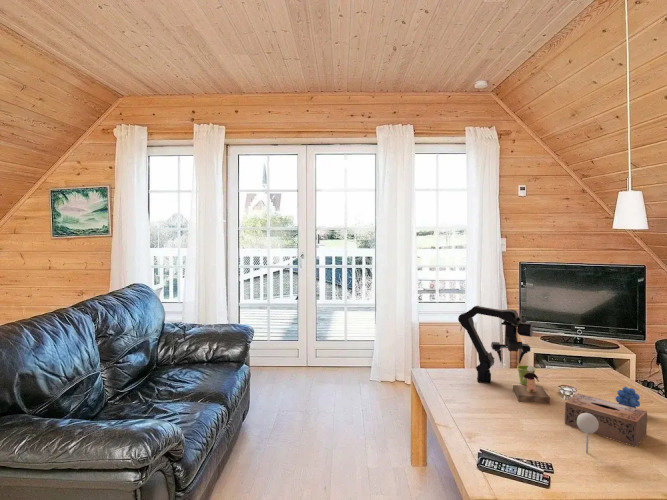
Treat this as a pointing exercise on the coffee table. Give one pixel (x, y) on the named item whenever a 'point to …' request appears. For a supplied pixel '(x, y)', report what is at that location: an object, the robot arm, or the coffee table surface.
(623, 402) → the blue flower
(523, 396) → the walnut base
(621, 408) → the tissue box cover
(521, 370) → the plant pot
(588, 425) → the lollipop
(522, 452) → the coffee table surface
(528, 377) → the grandmother figurine
